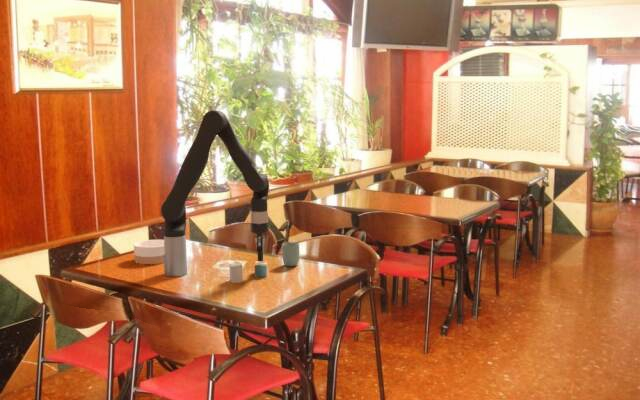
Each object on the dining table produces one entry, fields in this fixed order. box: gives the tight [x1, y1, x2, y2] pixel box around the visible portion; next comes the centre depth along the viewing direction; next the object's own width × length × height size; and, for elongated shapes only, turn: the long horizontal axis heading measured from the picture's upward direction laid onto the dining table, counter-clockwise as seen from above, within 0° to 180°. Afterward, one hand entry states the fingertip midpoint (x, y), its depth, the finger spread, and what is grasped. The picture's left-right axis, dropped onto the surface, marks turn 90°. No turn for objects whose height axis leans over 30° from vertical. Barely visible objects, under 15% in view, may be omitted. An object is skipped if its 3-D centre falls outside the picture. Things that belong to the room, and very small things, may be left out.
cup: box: [281, 241, 300, 267], centre depth 316 cm, size 8×8×10 cm
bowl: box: [133, 239, 165, 265], centre depth 331 cm, size 17×17×8 cm
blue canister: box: [254, 260, 268, 278], centre depth 302 cm, size 5×5×8 cm
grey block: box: [229, 262, 244, 284], centre depth 292 cm, size 4×4×7 cm
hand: (260, 260), depth 300 cm, fingers closed
